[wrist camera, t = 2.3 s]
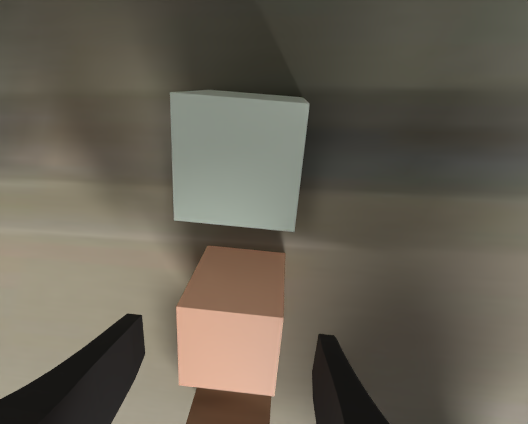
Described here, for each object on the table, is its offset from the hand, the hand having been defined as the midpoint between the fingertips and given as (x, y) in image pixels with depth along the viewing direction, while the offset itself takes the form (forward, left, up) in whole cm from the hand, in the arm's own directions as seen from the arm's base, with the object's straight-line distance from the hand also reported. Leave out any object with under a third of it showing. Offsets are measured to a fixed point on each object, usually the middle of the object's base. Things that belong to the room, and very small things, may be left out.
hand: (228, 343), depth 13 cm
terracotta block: (0, 0, -5) cm, 5 cm away
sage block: (+7, 0, -5) cm, 9 cm away
